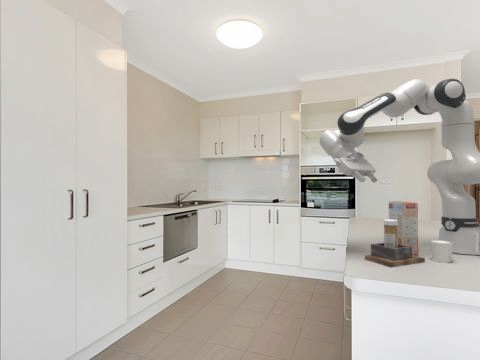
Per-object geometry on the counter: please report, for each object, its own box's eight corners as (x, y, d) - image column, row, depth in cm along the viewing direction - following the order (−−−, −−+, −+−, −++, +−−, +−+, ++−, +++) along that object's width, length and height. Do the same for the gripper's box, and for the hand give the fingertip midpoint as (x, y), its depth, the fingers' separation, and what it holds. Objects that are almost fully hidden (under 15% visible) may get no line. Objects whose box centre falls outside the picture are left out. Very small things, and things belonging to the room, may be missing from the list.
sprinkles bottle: (400, 256, 101) (400, 220, 101) (393, 258, 98) (392, 220, 99) (388, 254, 105) (388, 218, 105) (381, 255, 102) (380, 219, 103)
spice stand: (397, 255, 109) (397, 241, 109) (424, 262, 99) (424, 246, 99) (364, 259, 103) (364, 244, 103) (390, 267, 93) (390, 250, 93)
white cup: (448, 259, 103) (448, 240, 103) (456, 264, 97) (456, 244, 97) (427, 257, 105) (427, 239, 106) (433, 262, 99) (433, 242, 99)
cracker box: (419, 255, 108) (418, 202, 109) (403, 255, 109) (402, 202, 110) (402, 248, 122) (402, 200, 123) (388, 247, 123) (387, 200, 123)
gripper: (337, 150, 108) (361, 174, 100) (364, 154, 120) (387, 176, 112) (327, 162, 112) (349, 186, 104) (355, 165, 124) (377, 186, 116)
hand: (369, 181), depth 108 cm, fingers open, 8 cm apart
